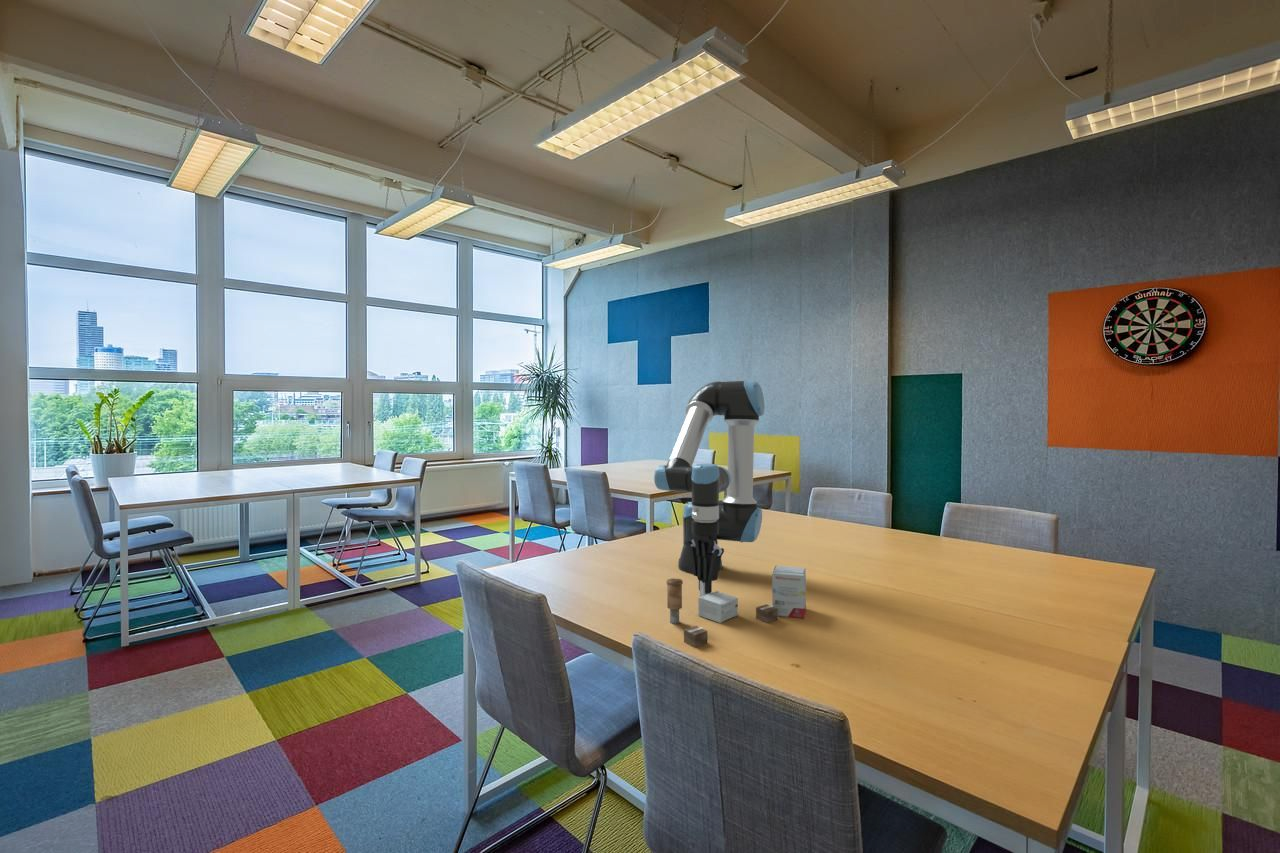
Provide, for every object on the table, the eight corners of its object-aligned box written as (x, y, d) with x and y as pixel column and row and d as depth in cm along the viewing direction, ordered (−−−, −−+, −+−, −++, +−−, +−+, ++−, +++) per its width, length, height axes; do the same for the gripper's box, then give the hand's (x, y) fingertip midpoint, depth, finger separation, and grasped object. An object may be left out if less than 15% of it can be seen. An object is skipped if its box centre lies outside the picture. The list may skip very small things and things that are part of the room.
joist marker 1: (696, 637, 143) (696, 625, 142) (707, 643, 139) (707, 630, 139) (683, 641, 140) (683, 628, 140) (694, 647, 137) (694, 634, 137)
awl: (675, 617, 156) (675, 577, 155) (685, 622, 152) (685, 581, 152) (663, 621, 153) (663, 580, 153) (673, 626, 150) (673, 584, 149)
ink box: (806, 608, 162) (806, 566, 162) (804, 619, 154) (804, 575, 153) (774, 604, 165) (775, 563, 164) (771, 615, 157) (771, 572, 156)
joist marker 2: (766, 615, 157) (766, 603, 157) (777, 619, 154) (777, 607, 154) (755, 618, 155) (755, 606, 155) (767, 623, 151) (767, 611, 151)
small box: (720, 623, 151) (720, 604, 151) (697, 615, 157) (697, 597, 157) (738, 615, 157) (738, 597, 156) (715, 608, 162) (715, 590, 162)
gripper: (680, 517, 164) (680, 599, 165) (710, 525, 153) (710, 613, 154) (700, 514, 168) (700, 594, 169) (731, 522, 158) (731, 607, 159)
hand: (705, 603), depth 162 cm, fingers closed
